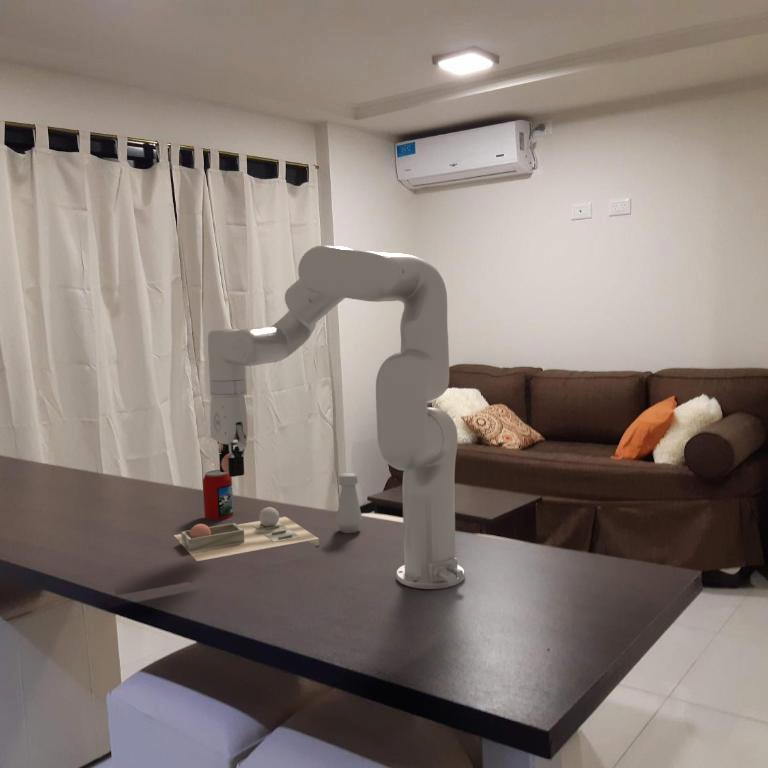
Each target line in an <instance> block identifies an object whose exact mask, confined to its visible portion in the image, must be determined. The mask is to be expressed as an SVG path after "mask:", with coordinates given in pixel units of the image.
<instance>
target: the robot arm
mask: <svg viewBox="0 0 768 768" xmlns="http://www.w3.org/2000/svg"><path fill="white" fill-rule="evenodd" d="M297 272H298V273H297V274H298V279H297V280H296V281H294V283H293V284H291V285H290V286H289V287H288V288H287V289H286V291H285V293H284V302H285V305H286V307H287V309H288V311H287V312H286V313H285V314H284V315H283V316H282V317H281V318H280V319H279V320H277V321H276V322H275V323H273V324H272V325H271V326H261V327H250V328H242V329H239V328H217V329H212V330H210V331H209V332H208V334H207V350H208V352H207V353H208V355H207V356H208V372H209V373H208V374H209V394H210V395H209V396H210V398H211V399H210V417H209V418H210V419H209V420H210V421H209V422H210V424H209V427H210V433H209V434H210V438H211V439H212V440H213V441H216V442H217V444H218V449H217V450H218V454H219V455H218V456H219V458H218V459H219V470H220V472H222V473H223V472H225V471H224V470H223V469H222V465H221V462H222V459H223V458H224V456H225V455H227V454H230V458H228V465H229V476H230V477H231V478H233V477H234V478H235V477H240V476H244V475H245V458H244V457H245V449H246V448H247V441H248V437H249V425H248V413H247V406H246V405H247V404H246V398H245V397H246V395H247V394H248V392H247V391H248V390H247V369H246V367H252V366H253V367H254V366H260V365H265V364H273V363H278V362H281V361H283V360H284V359H286V358H288V357H290V356H291V355H292V354H293V353H294V352H296V351H297V350H298V349H299V348H300V347H302V346H303V345H304V344H305V343H306V342H307V341H308V340H309V339H310V338H311V336H312V333H313V332H314V330H315V328H316V326H317V323H318V322H319V321H320V320H321V319H322V318H323V317H325V316H326V315H327V314H328V313H329V312H330V311H331V310H333V309H334V308H335V307H336V306H338V304H340V303H341V302H343V301H344V299H351V300H357V301H364V302H371V303H372V302H375V303H376V302H377V303H378V302H379V303H380V302H396V301H398V302H402V303H403V312H402V313H401V319H400V327H399V328H400V329H399V330H400V331H399V332H400V352H397V353H393V354H391V355H390V356H389V357H387V358H386V359H384V361H383V362H382V364H381V365H380V367H379V370H378V372H377V376H376V379H375V407H376V413H375V414H376V433H377V435H376V436H377V444H378V448H379V452H380V454H381V456H382V458H383V460H384V461H385V462H386V463H387V465H388V466H390V467H391V468H394V469H396V470H398V471H403V473H402V474H403V475H402V525H403V529H402V530H403V554H404V555H403V556H404V557H403V558H404V559H403V560H404V565H401V566H400V567H399V568H398V569H397V570H396V572H395V574H396V581H398V582H399V583H400V584H402V585H404V586H407V587H409V588H412V589H419V590H420V589H421V590H439V589H440V590H441V589H447V588H450V587H454V586H456V585H459V584H460V583H462V582H463V581H464V580H465V573H466V572H465V569H464V568H463V567H462V566H460V565H459V564H458V558H457V557H456V556H457V555H456V554H457V552H456V551H457V550H456V549H457V548H456V513H455V512H456V508H455V506H456V505H455V504H456V503H455V495H456V494H455V489H456V488H455V487H456V486H455V477H456V476H455V473H456V472H455V470H456V458H457V450H458V442H459V441H458V429H457V426H456V423H455V422H454V420H453V418H452V417H451V416H450V415H449V413H447V411H444V410H442V409H440V408H437V407H432V406H431V407H428V402H430V401H434V400H436V399H438V398H440V397H442V395H444V394H445V393H446V392H447V389H448V387H449V384H450V354H449V352H450V350H449V332H448V328H449V327H448V293H447V288H446V287H447V286H446V284H445V281H444V279H443V277H442V275H441V274H440V272H439V271H438V269H437V268H436V267H434V266H433V265H432V264H431V263H429V262H428V261H427V260H424V259H422V258H420V257H417V256H415V255H411V254H404V253H397V252H396V253H395V252H391V253H389V252H380V251H379V252H377V251H375V252H374V251H366V250H356V249H355V250H354V249H352V248H348V247H345V246H334V245H321V244H320V245H316V246H314V247H312V248H310V249H308V250H307V251H306V252H305V253H304V254H303V256H302V257H301V259H300V261H299V264H298V267H297ZM233 441H235V442H233Z"/></svg>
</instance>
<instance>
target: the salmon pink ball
mask: <svg viewBox="0 0 768 768" xmlns="http://www.w3.org/2000/svg"><path fill="white" fill-rule="evenodd" d="M228 458H230V454H227V455H225V456H224V458H223V459H222V462H221V465H222V469H223V470H224V471H225V472H226V473H228V474H229V465H228Z"/></svg>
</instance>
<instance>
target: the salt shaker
mask: <svg viewBox="0 0 768 768" xmlns="http://www.w3.org/2000/svg"><path fill="white" fill-rule="evenodd" d="M337 478H338V479H337V480H338V485H339V486H341V488H340V489H341V490H340V495H339V501H338V507H337V513H336V520H335V521H336V524H337V526H338V528H339V531H340V532H341V533H344V534H354V533H357V532H358V531H360V528H361V525H362V523H363V516H362V512H361V506H360V502H359V497H358V492H357V488H356V487H357V486H356V485H357V484H358V481H359V480H358V475H357V474H356V473H353V472H344V473H341V474H340V475H338V477H337Z"/></svg>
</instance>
